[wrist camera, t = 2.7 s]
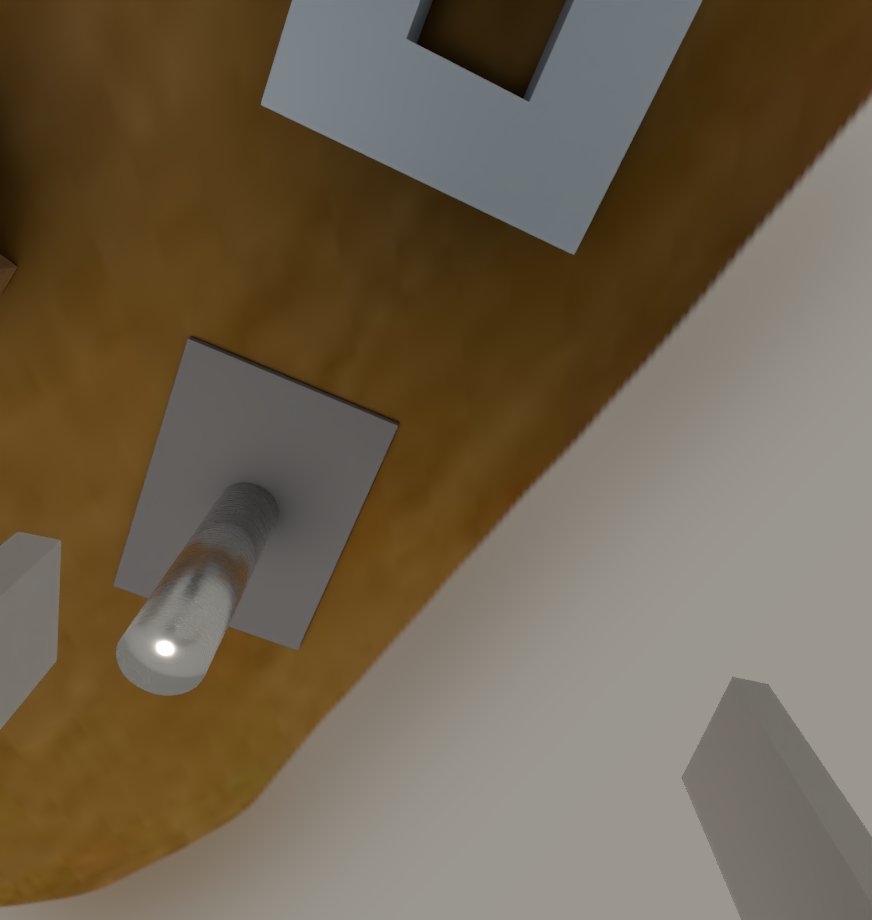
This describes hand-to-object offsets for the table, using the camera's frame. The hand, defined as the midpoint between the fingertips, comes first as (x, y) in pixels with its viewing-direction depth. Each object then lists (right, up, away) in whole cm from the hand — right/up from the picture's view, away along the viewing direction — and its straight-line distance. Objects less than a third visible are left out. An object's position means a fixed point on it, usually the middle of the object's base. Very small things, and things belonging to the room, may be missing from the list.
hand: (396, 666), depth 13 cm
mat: (-8, +2, +20) cm, 22 cm away
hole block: (+3, +20, +12) cm, 24 cm away
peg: (-8, +2, +19) cm, 21 cm away
